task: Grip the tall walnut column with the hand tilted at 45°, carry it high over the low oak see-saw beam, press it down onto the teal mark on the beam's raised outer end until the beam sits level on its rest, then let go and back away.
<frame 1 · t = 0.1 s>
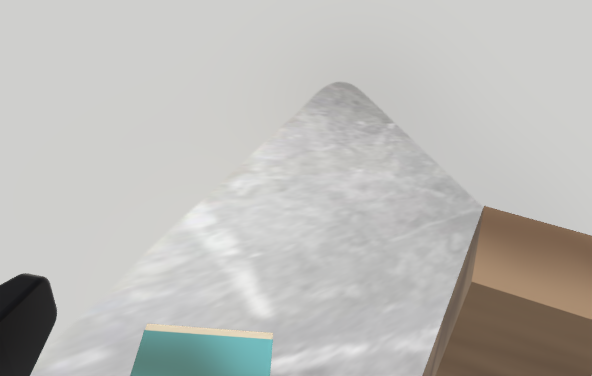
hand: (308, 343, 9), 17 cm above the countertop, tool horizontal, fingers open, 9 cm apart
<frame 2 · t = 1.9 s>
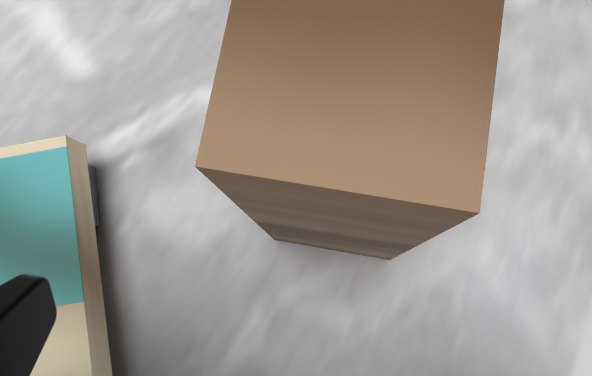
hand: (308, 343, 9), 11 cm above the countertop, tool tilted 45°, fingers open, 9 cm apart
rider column: (340, 193, 20), on the countertop
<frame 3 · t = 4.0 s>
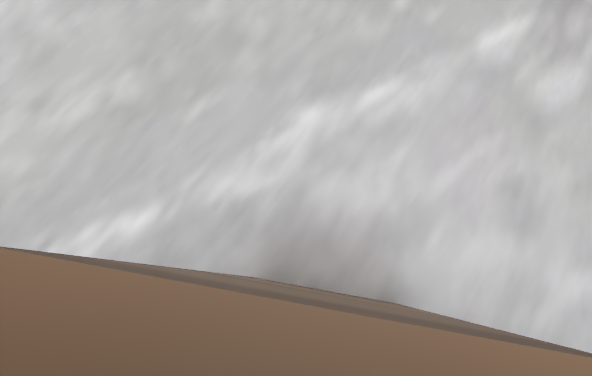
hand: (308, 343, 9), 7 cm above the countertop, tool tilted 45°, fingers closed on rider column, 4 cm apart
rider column: (309, 368, 15), on the countertop, touching gripper
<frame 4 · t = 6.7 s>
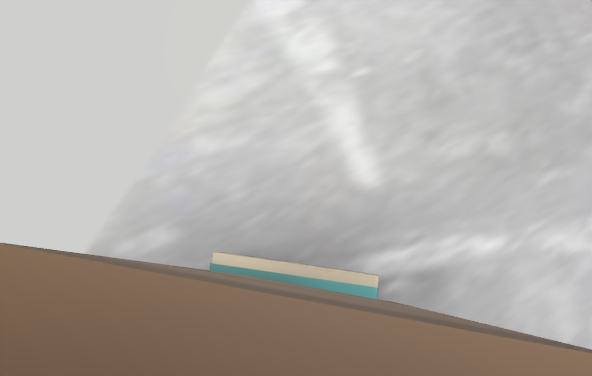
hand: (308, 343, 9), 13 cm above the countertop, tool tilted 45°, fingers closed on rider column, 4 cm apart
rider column: (310, 367, 15), point 7 cm above the countertop, touching gripper
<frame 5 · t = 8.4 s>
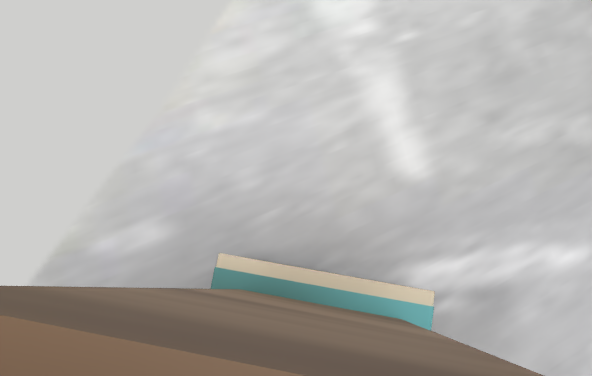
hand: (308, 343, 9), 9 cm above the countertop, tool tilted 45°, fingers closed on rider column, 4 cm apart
when the fingers open (9 cm above the countertop, at t = 9.4 s): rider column stays where it is, resting on seesaw beam.
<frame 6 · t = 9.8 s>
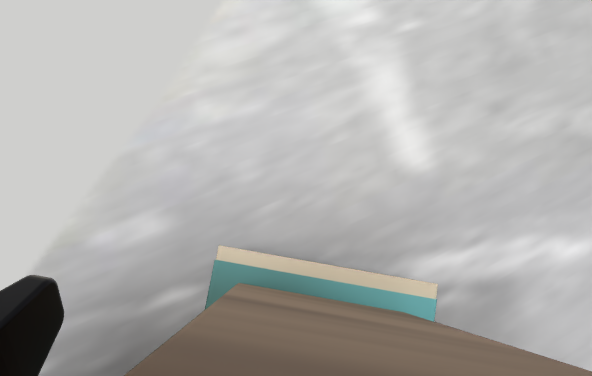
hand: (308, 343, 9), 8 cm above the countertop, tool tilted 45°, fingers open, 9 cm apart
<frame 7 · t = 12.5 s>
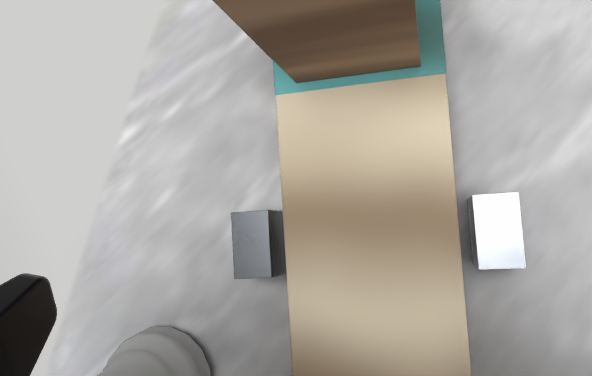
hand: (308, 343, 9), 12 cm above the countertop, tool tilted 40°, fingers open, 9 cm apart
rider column: (352, 14, 19), point 3 cm above the countertop, touching seesaw beam
rook chess piece: (170, 374, 23), on the countertop
seesaw stand: (376, 236, 21), on the countertop
seesaw beam: (369, 237, 18), point 2 cm above the countertop, hinge at -0.5°, touching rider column
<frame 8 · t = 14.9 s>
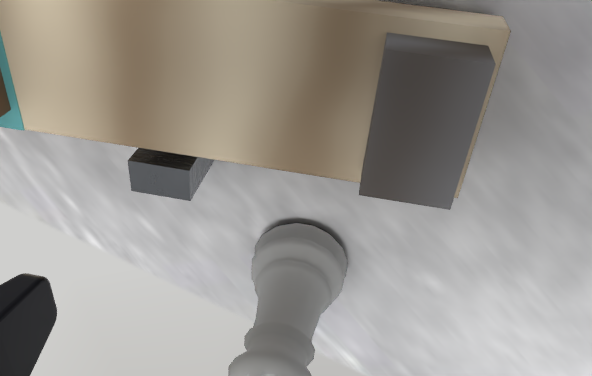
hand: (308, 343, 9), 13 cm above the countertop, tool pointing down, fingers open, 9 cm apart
rook chess piece: (302, 251, 25), on the countertop
seesaw stand: (181, 48, 20), on the countertop
seesaw beam: (158, 71, 18), point 2 cm above the countertop, hinge at -0.5°, touching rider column
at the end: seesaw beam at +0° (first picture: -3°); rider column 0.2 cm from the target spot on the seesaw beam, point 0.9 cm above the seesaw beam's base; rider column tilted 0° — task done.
